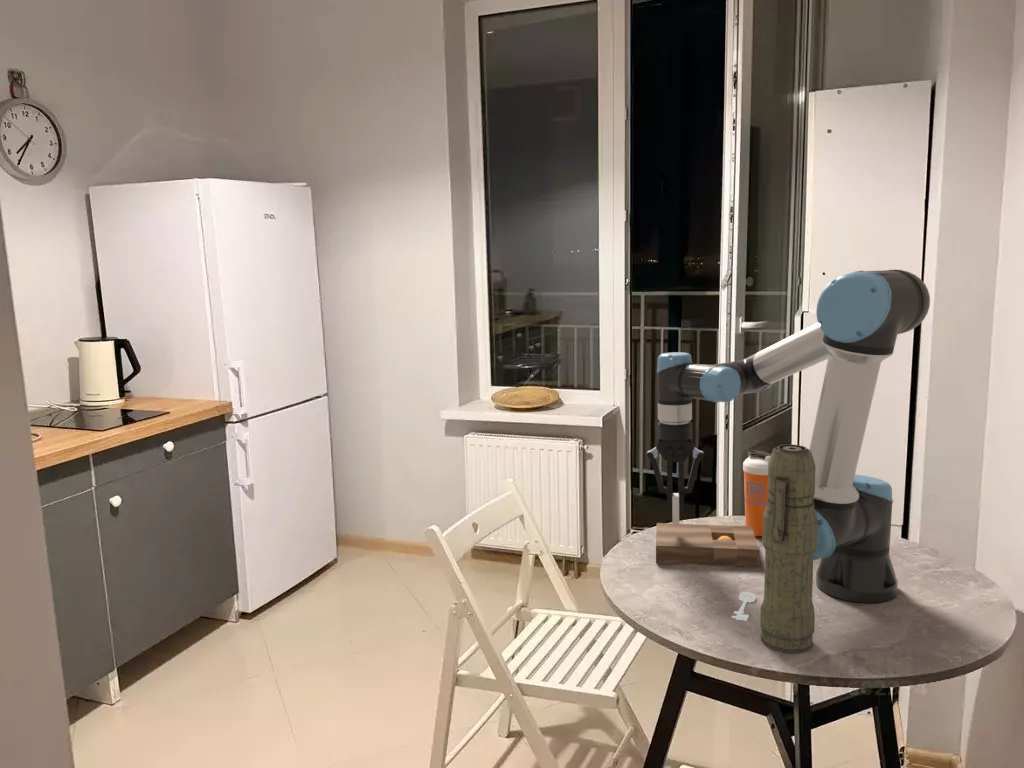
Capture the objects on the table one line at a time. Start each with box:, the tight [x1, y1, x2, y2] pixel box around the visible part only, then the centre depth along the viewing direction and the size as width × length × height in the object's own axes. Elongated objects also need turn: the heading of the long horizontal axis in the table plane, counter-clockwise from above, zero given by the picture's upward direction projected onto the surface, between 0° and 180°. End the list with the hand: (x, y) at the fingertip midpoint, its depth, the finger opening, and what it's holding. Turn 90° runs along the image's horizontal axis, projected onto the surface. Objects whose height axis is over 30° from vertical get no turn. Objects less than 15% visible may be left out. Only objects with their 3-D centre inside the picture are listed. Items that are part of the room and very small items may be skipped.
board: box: [655, 522, 760, 568], centre depth 180 cm, size 15×22×4 cm
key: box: [731, 591, 756, 622], centre depth 152 cm, size 12×1×3 cm
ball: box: [718, 536, 733, 541], centre depth 179 cm, size 4×4×4 cm
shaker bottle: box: [742, 449, 772, 538], centre depth 191 cm, size 9×9×20 cm
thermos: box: [759, 444, 818, 654], centre depth 135 cm, size 9×12×35 cm
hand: (675, 522), depth 180 cm, fingers closed
